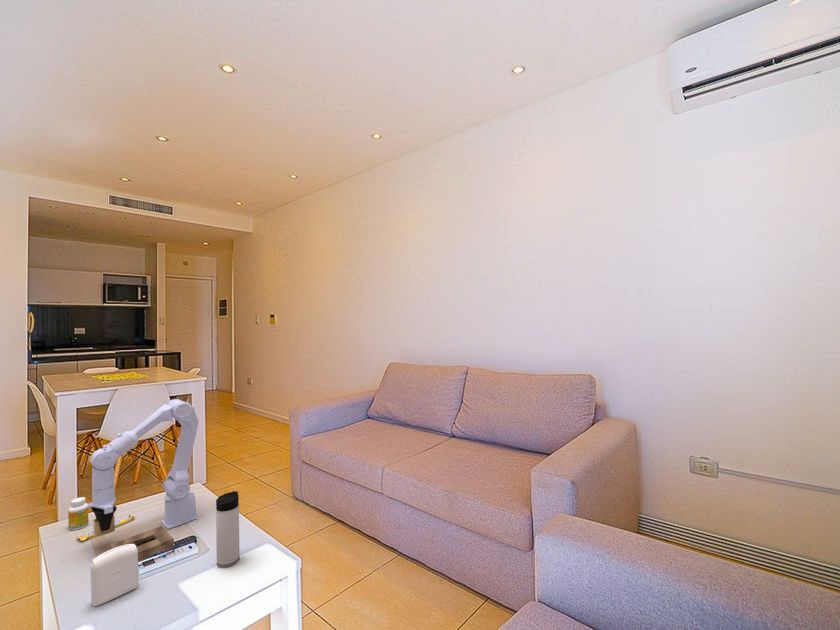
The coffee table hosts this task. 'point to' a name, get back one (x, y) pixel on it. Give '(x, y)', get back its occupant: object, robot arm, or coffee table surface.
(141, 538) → the walnut coin box
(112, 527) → the tan flat rectangular block
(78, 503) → the supplement bottle
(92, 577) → the photo printer
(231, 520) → the travel mug
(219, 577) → the coffee table surface
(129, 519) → the candy bar
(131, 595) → the coffee table surface
